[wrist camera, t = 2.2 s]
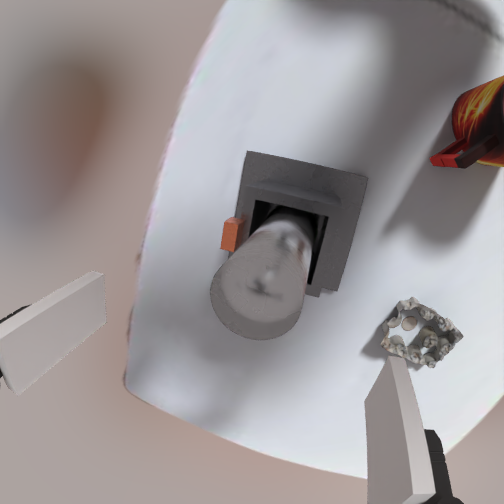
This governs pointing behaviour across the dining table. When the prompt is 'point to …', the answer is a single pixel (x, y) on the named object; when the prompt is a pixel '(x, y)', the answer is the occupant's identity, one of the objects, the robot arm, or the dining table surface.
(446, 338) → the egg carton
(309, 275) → the stand
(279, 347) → the dining table surface
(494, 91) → the mug
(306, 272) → the column
